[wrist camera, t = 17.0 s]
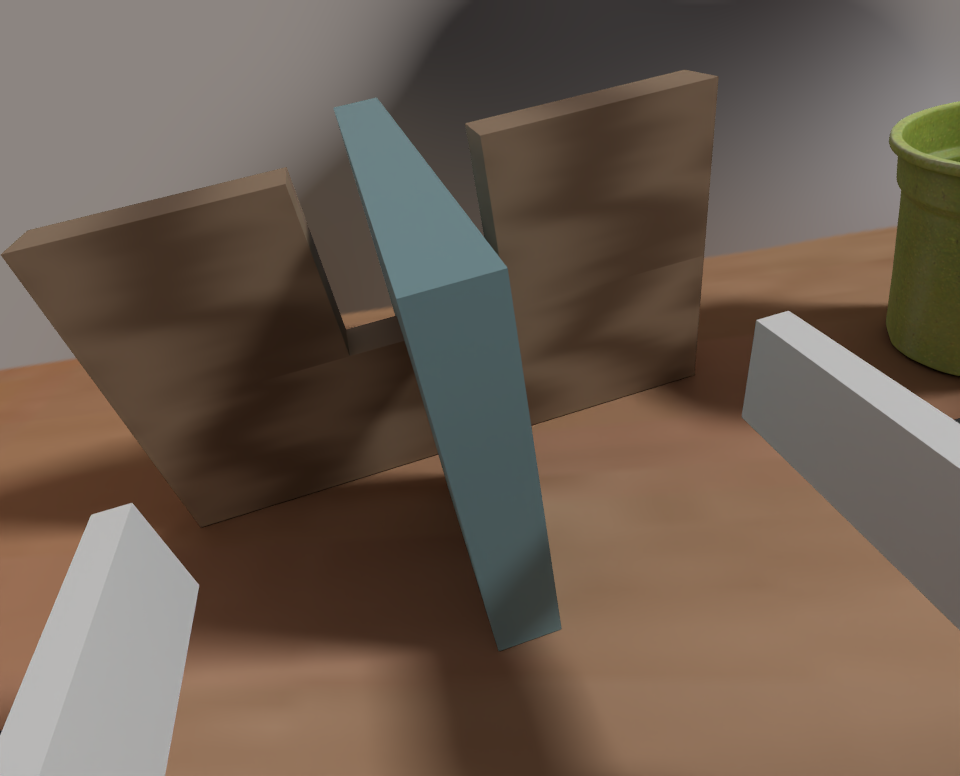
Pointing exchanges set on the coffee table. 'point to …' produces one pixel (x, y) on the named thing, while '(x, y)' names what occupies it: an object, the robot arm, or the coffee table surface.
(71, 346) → the walnut board
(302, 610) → the coffee table surface
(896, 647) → the coffee table surface
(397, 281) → the slotted plate
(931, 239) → the plant pot
